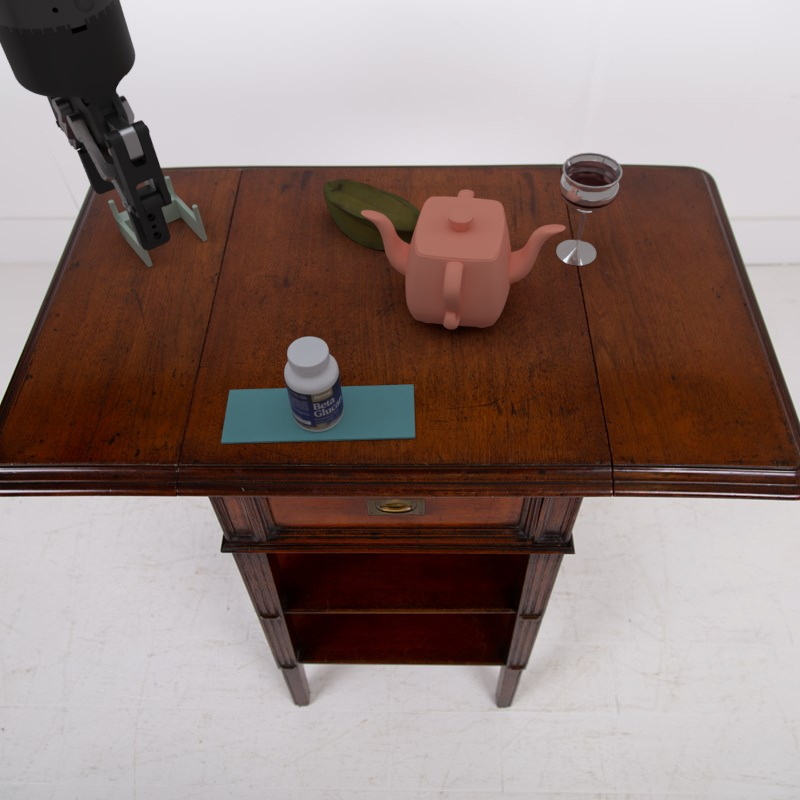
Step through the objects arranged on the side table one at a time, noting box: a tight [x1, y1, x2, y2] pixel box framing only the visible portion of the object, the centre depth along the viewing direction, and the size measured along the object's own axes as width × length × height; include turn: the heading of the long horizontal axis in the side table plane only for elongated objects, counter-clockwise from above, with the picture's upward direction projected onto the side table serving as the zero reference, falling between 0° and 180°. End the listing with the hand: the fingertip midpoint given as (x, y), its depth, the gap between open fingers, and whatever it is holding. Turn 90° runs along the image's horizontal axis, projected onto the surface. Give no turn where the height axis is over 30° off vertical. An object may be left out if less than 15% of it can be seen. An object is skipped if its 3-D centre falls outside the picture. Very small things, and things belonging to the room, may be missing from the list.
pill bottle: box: [283, 336, 344, 432], centre depth 76 cm, size 5×5×10 cm
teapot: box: [361, 189, 566, 330], centre depth 85 cm, size 15×17×13 cm
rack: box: [107, 175, 208, 268], centre depth 97 cm, size 8×8×5 cm
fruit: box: [322, 178, 421, 251], centre depth 96 cm, size 11×12×7 cm
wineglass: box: [555, 152, 623, 266], centre depth 90 cm, size 7×7×12 cm
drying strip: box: [220, 383, 416, 445], centre depth 80 cm, size 20×7×1 cm, turn 91°
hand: (131, 215), depth 58 cm, fingers open, 8 cm apart
